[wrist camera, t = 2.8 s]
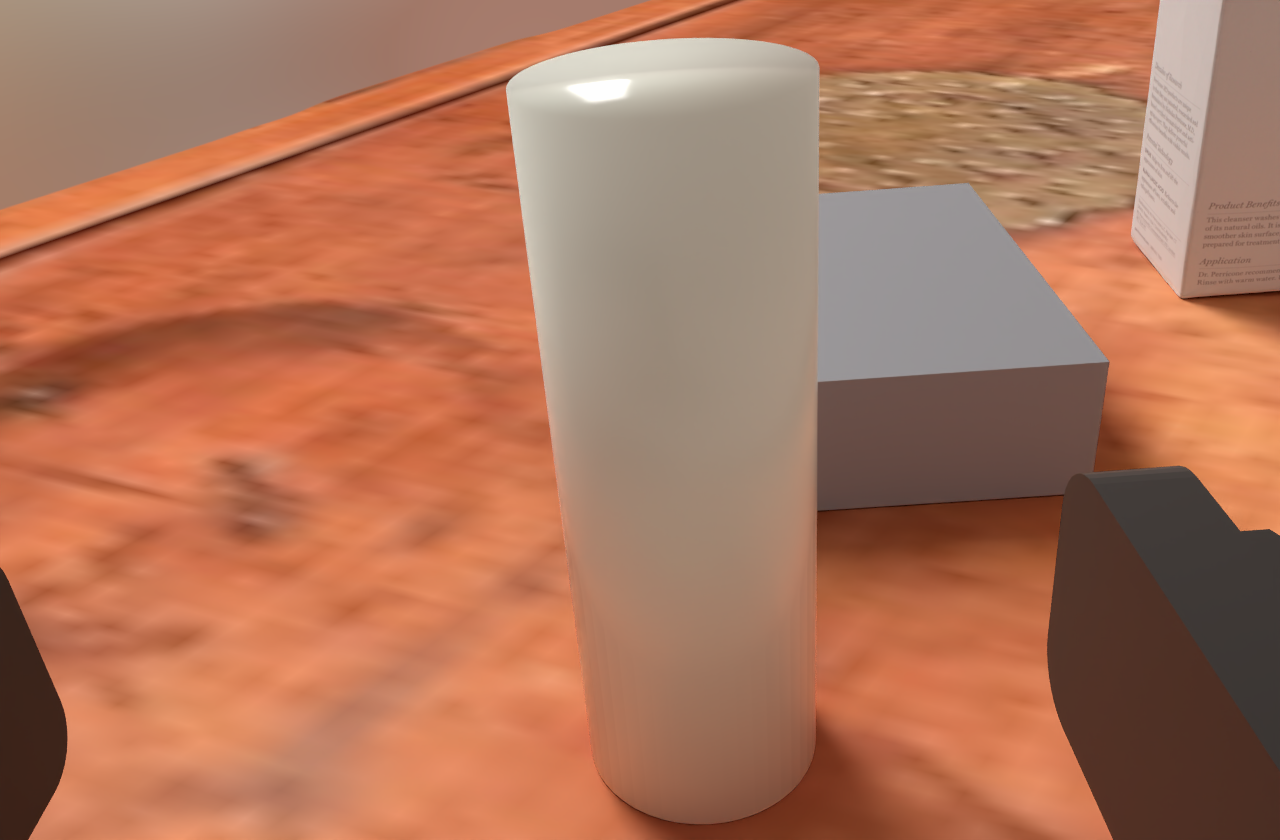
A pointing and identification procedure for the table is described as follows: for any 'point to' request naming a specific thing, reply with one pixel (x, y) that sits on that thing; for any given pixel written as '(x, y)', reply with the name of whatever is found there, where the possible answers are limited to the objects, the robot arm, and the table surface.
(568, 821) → the table surface
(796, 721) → the white cylinder
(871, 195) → the slate plinth
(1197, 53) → the skincare box
